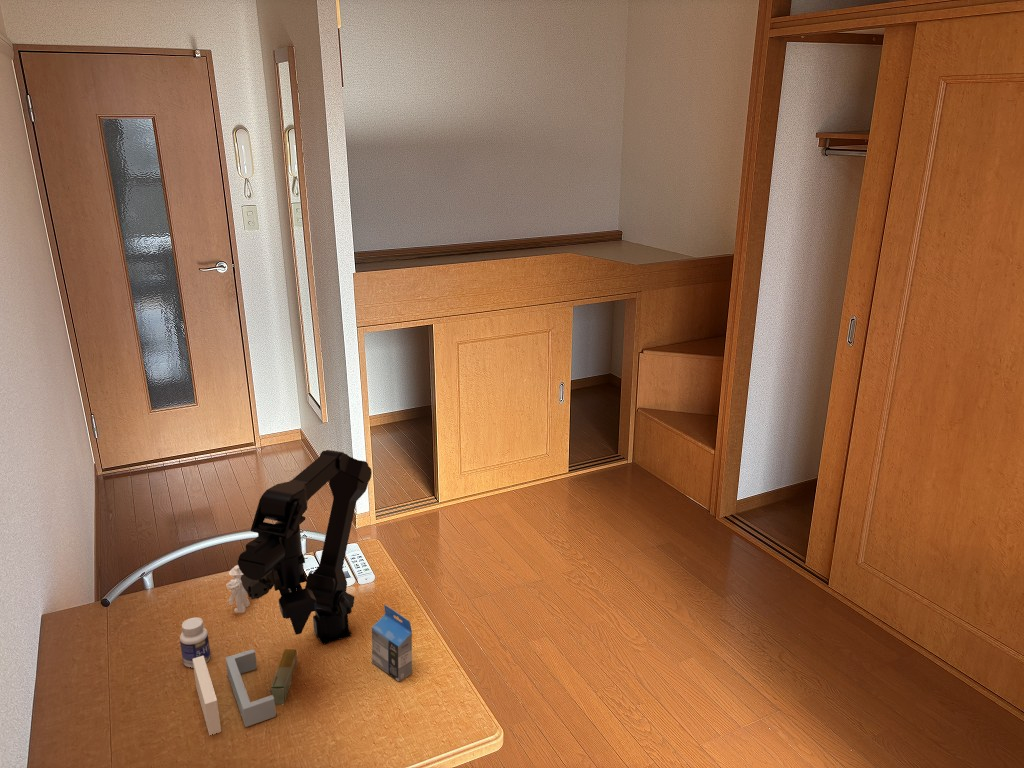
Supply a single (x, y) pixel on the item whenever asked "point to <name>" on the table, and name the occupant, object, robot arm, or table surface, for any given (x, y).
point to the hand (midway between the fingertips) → (293, 620)
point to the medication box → (284, 676)
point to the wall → (206, 695)
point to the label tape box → (392, 645)
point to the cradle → (248, 710)
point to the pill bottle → (194, 641)
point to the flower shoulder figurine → (237, 591)
